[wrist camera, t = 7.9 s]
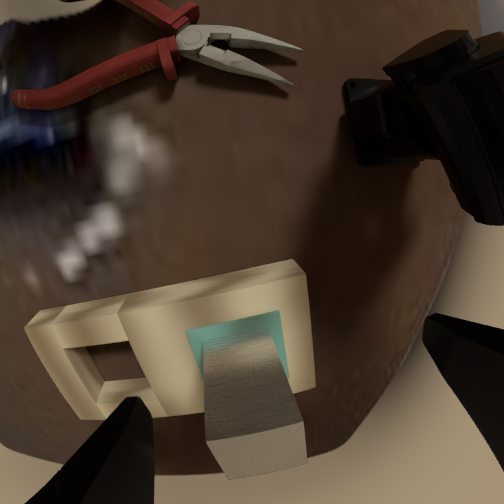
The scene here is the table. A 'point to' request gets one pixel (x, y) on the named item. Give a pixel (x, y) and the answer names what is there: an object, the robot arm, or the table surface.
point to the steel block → (250, 406)
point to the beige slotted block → (174, 337)
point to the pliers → (160, 56)
